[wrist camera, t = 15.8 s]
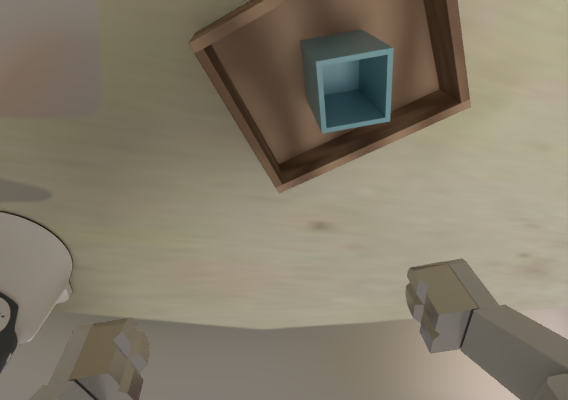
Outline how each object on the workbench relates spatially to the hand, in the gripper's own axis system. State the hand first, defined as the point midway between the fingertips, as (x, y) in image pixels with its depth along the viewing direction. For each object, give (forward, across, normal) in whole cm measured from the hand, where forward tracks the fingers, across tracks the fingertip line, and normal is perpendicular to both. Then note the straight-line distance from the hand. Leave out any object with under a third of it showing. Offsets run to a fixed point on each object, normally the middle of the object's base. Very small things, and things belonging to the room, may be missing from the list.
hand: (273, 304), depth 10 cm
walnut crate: (+27, +8, -1) cm, 28 cm away
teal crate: (+26, +8, -1) cm, 27 cm away
